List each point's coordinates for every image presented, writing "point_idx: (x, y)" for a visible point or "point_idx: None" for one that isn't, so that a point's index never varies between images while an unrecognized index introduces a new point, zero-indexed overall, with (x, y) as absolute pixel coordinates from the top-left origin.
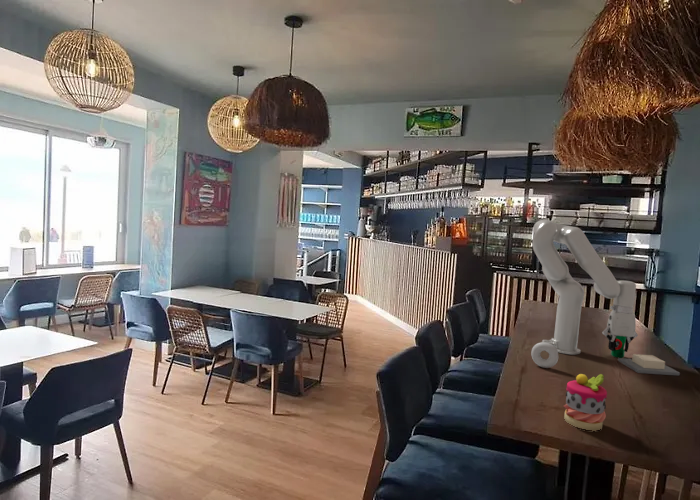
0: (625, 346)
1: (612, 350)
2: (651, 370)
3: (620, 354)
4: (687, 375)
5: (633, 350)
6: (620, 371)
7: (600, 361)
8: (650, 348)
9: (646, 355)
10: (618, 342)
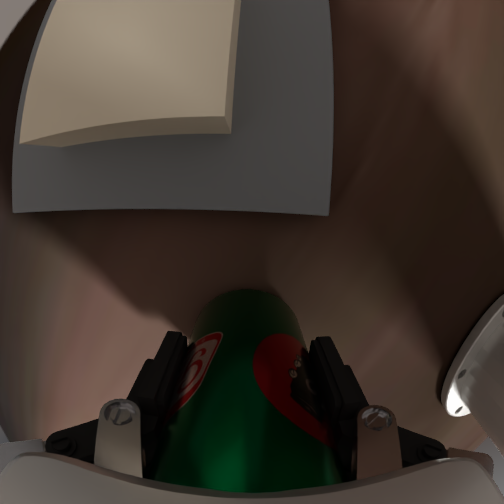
0: (176, 377)
1: (329, 339)
2: None
3: (254, 301)
4: (21, 34)
5: (80, 423)
6: (419, 9)
7: (461, 183)
8: (23, 421)
9: (76, 107)
10: (306, 397)
